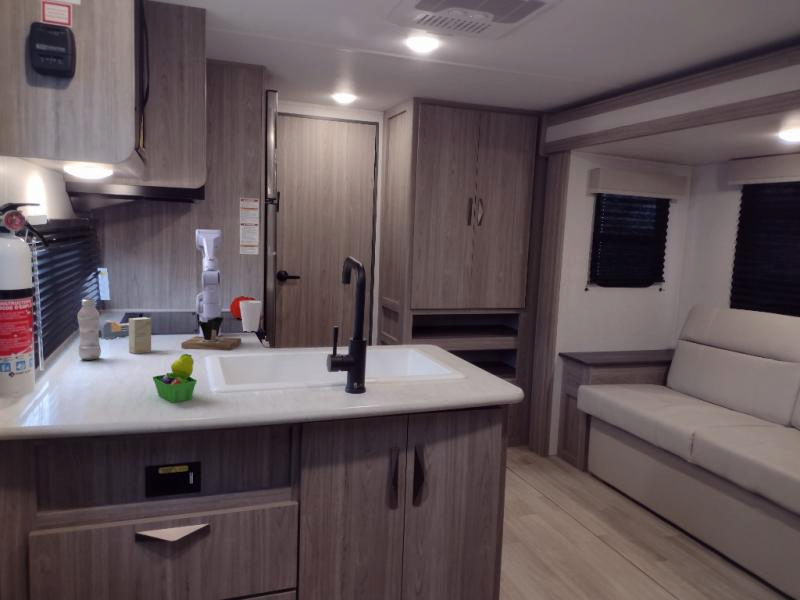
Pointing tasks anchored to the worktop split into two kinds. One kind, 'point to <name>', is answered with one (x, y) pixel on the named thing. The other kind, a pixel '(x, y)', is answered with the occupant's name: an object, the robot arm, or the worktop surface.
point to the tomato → (238, 306)
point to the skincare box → (139, 335)
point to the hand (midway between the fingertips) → (211, 338)
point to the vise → (112, 329)
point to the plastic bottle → (89, 330)
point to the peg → (212, 337)
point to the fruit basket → (177, 381)
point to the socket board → (211, 343)
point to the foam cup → (250, 315)
